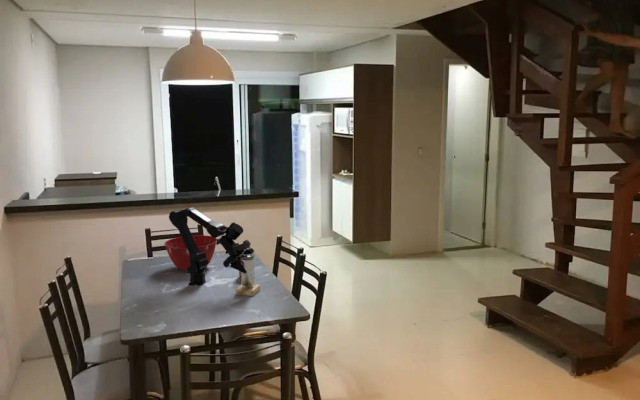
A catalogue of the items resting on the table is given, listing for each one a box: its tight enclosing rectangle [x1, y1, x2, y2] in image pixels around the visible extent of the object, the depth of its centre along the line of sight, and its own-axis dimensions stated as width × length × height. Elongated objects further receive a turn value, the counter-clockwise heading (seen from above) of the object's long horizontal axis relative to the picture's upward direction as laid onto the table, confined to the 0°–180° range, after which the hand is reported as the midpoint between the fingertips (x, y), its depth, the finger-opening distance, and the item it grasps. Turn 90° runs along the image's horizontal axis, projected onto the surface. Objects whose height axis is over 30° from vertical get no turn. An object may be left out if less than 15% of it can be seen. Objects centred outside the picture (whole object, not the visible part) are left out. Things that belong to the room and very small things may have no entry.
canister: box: [240, 254, 255, 286], centre depth 246 cm, size 6×6×14 cm
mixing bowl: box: [164, 234, 218, 272], centre depth 287 cm, size 28×28×16 cm
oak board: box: [235, 283, 261, 297], centre depth 248 cm, size 9×9×2 cm
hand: (249, 271), depth 246 cm, fingers closed on canister, 6 cm apart
